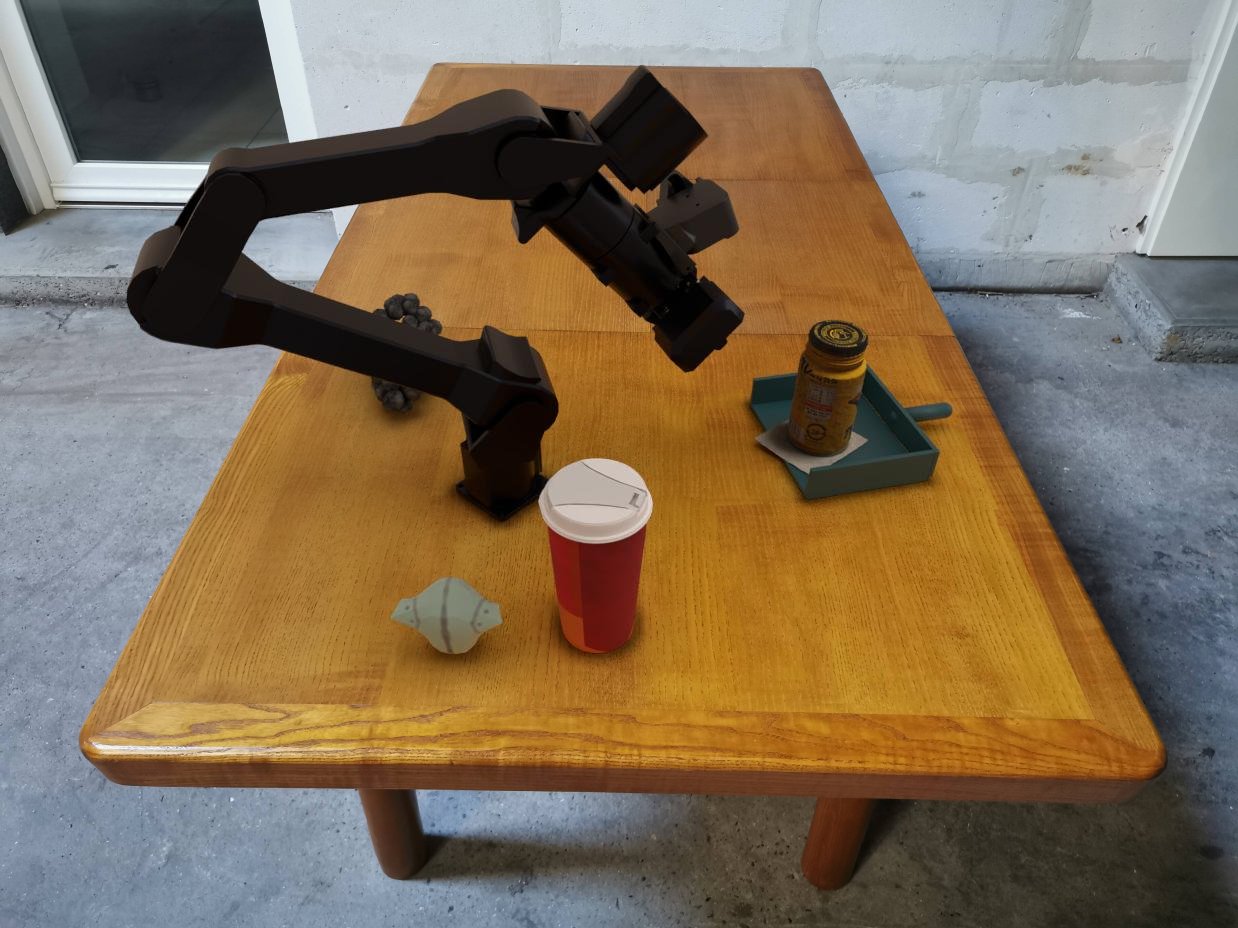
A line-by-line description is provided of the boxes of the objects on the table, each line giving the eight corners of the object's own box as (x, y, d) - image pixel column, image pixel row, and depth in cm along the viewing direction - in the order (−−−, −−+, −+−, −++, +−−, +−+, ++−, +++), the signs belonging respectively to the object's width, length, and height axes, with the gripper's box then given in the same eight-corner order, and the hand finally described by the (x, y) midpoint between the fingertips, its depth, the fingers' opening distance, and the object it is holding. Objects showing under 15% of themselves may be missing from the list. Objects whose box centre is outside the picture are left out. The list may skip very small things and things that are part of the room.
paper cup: (659, 601, 70) (667, 467, 61) (628, 676, 64) (632, 540, 56) (568, 577, 72) (562, 443, 63) (530, 648, 66) (518, 512, 57)
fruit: (403, 352, 81) (425, 272, 92) (323, 376, 83) (355, 294, 94) (444, 421, 86) (460, 338, 98) (368, 443, 88) (393, 358, 99)
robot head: (397, 666, 65) (383, 605, 61) (410, 623, 68) (397, 562, 64) (505, 671, 65) (498, 611, 60) (513, 628, 68) (507, 567, 64)
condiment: (868, 441, 86) (894, 335, 78) (812, 478, 81) (834, 369, 74) (809, 408, 90) (828, 304, 82) (753, 441, 86) (768, 334, 78)
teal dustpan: (806, 500, 80) (812, 471, 77) (749, 405, 91) (753, 378, 89) (987, 471, 83) (997, 443, 81) (910, 383, 94) (917, 356, 92)
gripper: (733, 191, 58) (848, 324, 68) (637, 119, 72) (743, 238, 82) (616, 312, 60) (742, 425, 70) (546, 220, 75) (658, 324, 84)
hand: (722, 344), depth 76 cm, fingers closed
